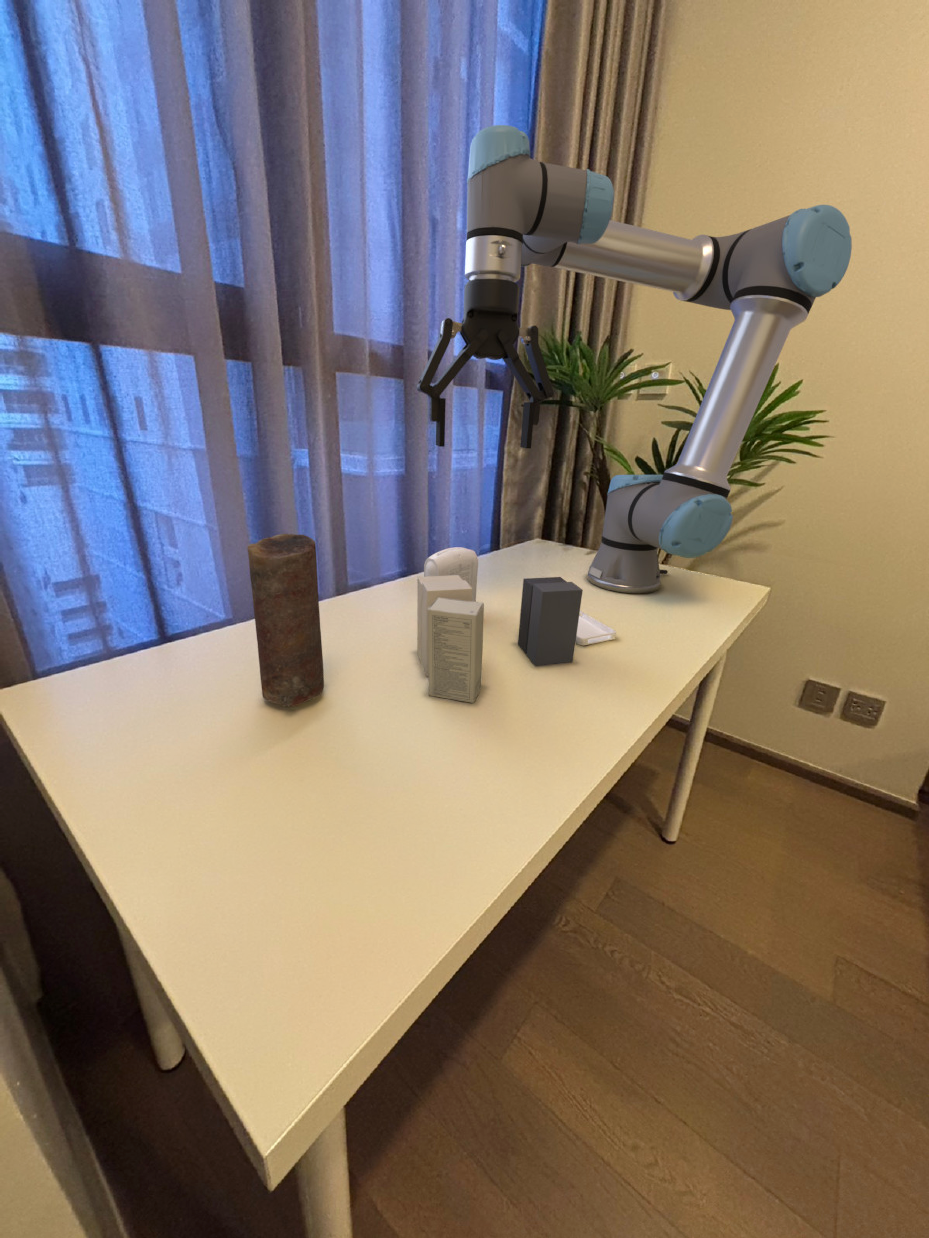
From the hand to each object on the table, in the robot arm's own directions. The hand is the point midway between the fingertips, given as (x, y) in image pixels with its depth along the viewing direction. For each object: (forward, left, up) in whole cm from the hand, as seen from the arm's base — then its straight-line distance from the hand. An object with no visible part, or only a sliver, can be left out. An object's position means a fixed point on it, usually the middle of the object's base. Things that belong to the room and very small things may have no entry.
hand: (483, 447), depth 77 cm
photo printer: (+4, -2, -29) cm, 29 cm away
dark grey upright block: (-7, +14, -29) cm, 33 cm away
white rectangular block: (+9, +14, -29) cm, 33 cm away
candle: (+29, +20, -29) cm, 46 cm away
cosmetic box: (+9, +22, -29) cm, 38 cm away
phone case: (-16, +5, -29) cm, 33 cm away
